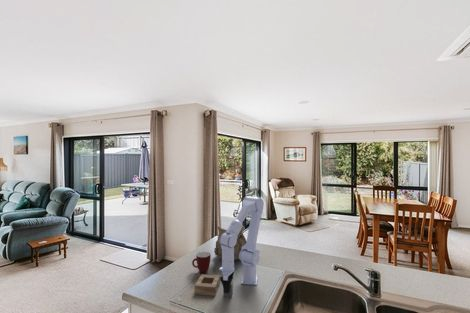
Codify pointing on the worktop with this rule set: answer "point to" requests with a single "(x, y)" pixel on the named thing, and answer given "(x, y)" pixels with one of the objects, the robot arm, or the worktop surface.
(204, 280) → the socket block
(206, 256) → the mug
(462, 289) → the worktop surface
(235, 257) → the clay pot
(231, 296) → the plug
